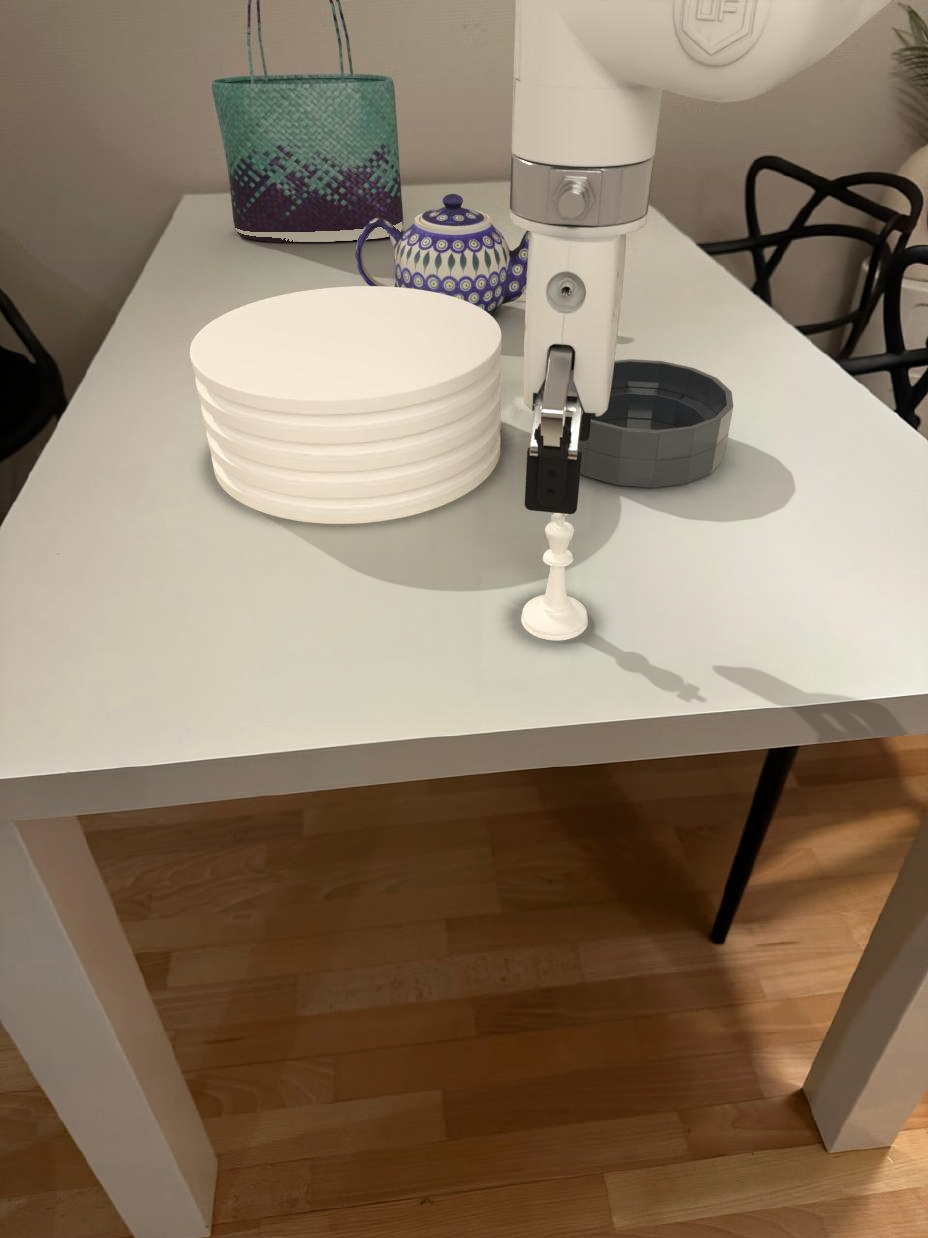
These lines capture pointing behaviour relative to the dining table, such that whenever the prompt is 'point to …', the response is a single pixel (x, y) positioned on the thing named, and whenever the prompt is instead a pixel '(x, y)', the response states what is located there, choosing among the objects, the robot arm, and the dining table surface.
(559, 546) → the chess piece
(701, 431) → the grey faceted round tub
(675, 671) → the dining table surface
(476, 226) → the teapot
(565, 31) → the robot arm
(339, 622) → the dining table surface
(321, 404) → the plate stack
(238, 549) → the dining table surface
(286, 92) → the basket
